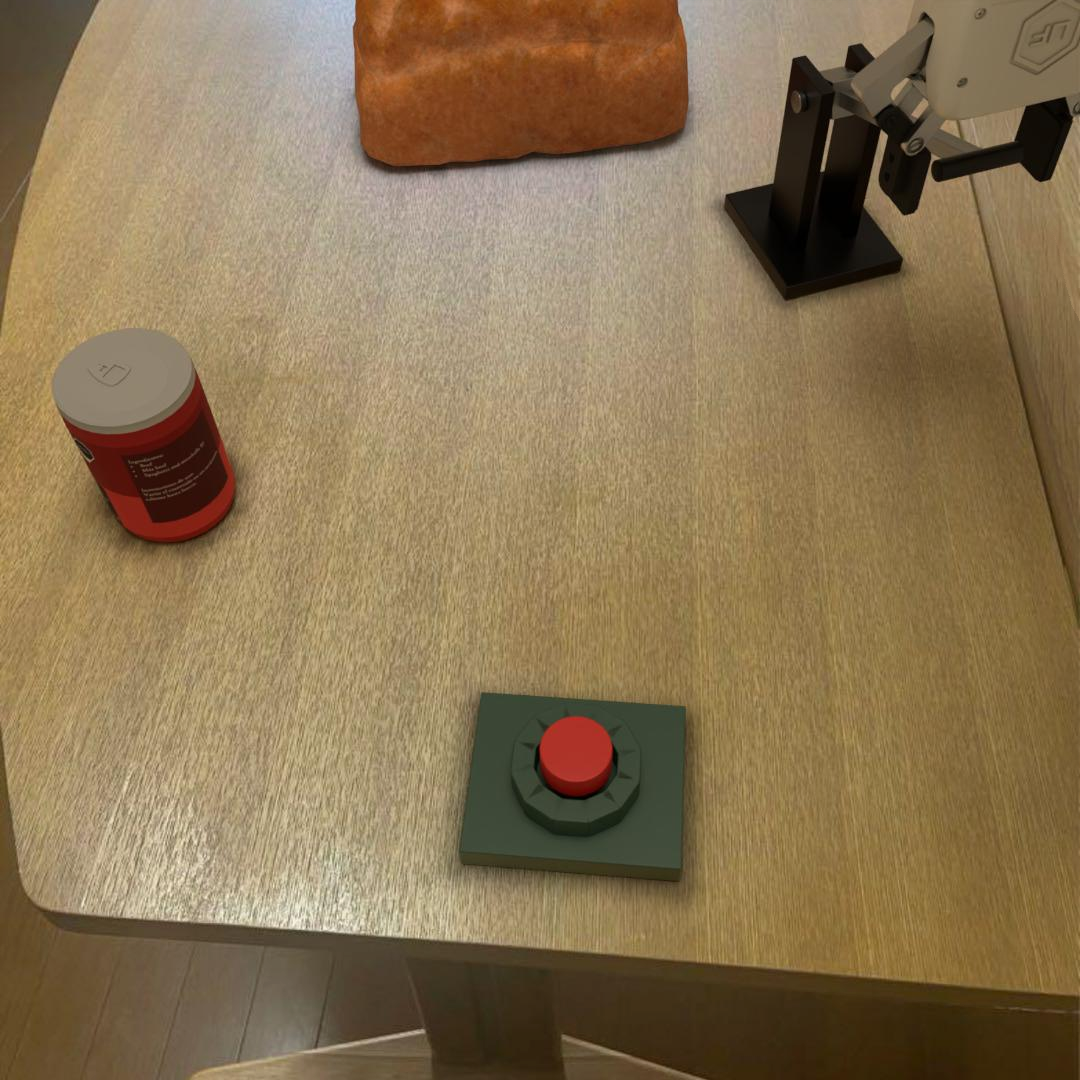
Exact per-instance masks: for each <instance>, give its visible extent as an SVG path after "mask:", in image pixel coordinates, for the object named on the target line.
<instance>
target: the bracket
mask: <svg viewBox="0 0 1080 1080" xmlns="http://www.w3.org/2000/svg"><path fill="white" fill-rule="evenodd" d="M874 59H876V57H874V55H873V54H872V53H871V51H869V50H868V49H867V48H866V47H865V45H864V44H863V43H861V42H860V43H856V44H851V45H848V47H847V51H846V55H845V61H844V62H845V63H844V66H843V67H845V68H848V69H850V70H852V71H854V72H856V73H859V72H860V71H861V70H862V69H863V68H865V67H866V66H867V65H868V64H870V63H871V62H872V61H873V60H874ZM787 85H788V86H787V92H786V99H785V105H784V111H783V118H782V122H781V123H782V124H781V129H780V130H781V131H780V138H779V143H778V150H777V156H776V162H775V163H776V164H775V169H774V176H773V182H772V183H768V184H763V185H760V186H755V187H750V188H746V189H743V190H738V191H733V192H730V193H726V194H725V196H724V203H723V204H724V205H723V207H724V209H725V211H726V212H727V214H728V215H729V216H730V218H731V220H732V221H733V223H734V224H735V226H736V227H737V229H738V230H739V232H740V234H741V235H742V236H743V238H744V239H745V241H746V243H747V245H748V246H749V247H750V249H751V250H752V251H753V253H754V255H755V256H756V257H757V260H758V261H759V263H760V264H761V266H762V267H763V268H764V270H765V271H766V273H767V274H768V276H769V278H770V279H771V280H772V282H773V283H774V285H775V287H776V288H777V290H778V292H779V293H780V294H781V296H782V297H783V299H784V300H785V301H787V300H792V299H796V298H799V297H803V296H807V295H811V294H815V293H819V292H824V291H827V290H831V289H835V288H839V287H843V286H848V285H850V284H856V283H859V282H862V281H866V280H870V279H875V278H878V277H883V276H887V275H891V274H894V273H898V272H900V271H901V269H902V266H903V263H904V257H903V256H902V255H901V253H900V252H899V251H898V249H897V248H896V247H895V246H894V244H893V243H892V241H890V239H889V238H888V236H886V234H885V233H884V231H883V230H882V229H881V228H880V226H879V225H878V224H877V222H876V221H875V220H874V219H873V217H872V215H871V214H870V213H869V211H867V209H866V208H865V201H866V197H867V193H868V188H869V184H870V180H871V175H872V171H873V166H874V162H875V158H876V153H877V150H878V145H879V141H880V136H881V132H882V130H881V129H880V127H878V126H876V125H874V124H872V123H870V122H868V121H866V120H865V119H863V118H861V117H859V116H857V115H852V116H847V117H843V118H838V119H834V120H833V124H832V129H831V134H830V139H829V144H828V150H827V154H826V155H827V156H826V160H825V165H824V170H823V171H822V166H823V161H824V155H825V149H826V144H827V140H828V133H829V128H830V123H831V113H832V108H833V103H834V98H835V90H834V89H833V88H832V87H831V85H830V84H829V83H828V82H827V80H826V79H825V78H824V77H823V76H822V74H821V73H820V72H819V69H818V68H817V67H816V66H815V64H813V62H812V61H811V59H810V58H809V57H808V56H807V55H800V56H796V57H795V56H794V57H793V58H792V59H791V66H790V72H789V78H788V84H787Z"/></svg>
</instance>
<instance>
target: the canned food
mask: <svg viewBox="0 0 1080 1080" xmlns="http://www.w3.org/2000/svg"><path fill="white" fill-rule="evenodd" d="M51 393H52V397H53V400H54V403H55V406H56V409H57V411H58V413H59V415H60V416H61V418H62V421H63V423H64V425H65V427H66V429H67V431H68V433H69V435H70V437H71V438H72V441H73V442H74V444H75V446H76V447H77V449H78V451H79V453H80V455H81V457H82V459H83V461H84V463H85V464H86V466H87V468H88V470H89V472H90V474H91V476H92V477H93V480H94V481H95V483H96V485H97V487H98V490H99V491H100V493H101V494H102V496H103V498H104V500H105V502H106V504H107V505H108V507H109V508H108V509H110V512H111V513H112V515H113V516H114V518H115V519H116V521H117V522H118V523H120V525H122V526H123V527H124V528H125V529H126V530H127V531H129V532H130V533H132V534H133V535H135V536H137V537H139V538H140V539H144V540H147V541H151V542H157V543H176V542H181V541H187V540H189V539H192V538H196V537H198V536H200V535H202V534H204V533H206V532H208V531H209V530H210V529H212V528H214V527H215V526H216V525H217V524H219V522H220V521H221V520H223V519H224V518H225V516H226V514H227V513H228V512H229V510H230V509H231V505H232V503H233V501H234V496H235V488H236V486H235V485H236V479H235V472H234V469H233V467H232V464H231V462H230V459H229V455H228V453H227V450H226V447H225V444H224V442H223V439H222V436H221V434H220V431H219V428H218V425H217V423H216V420H215V418H214V415H213V412H212V409H211V406H210V404H209V401H208V397H207V396H206V392H205V390H204V388H203V385H202V381H201V379H200V376H199V373H198V371H197V369H196V366H195V364H194V361H193V359H192V357H191V356H190V354H189V352H188V350H187V349H186V348H185V346H184V345H183V344H182V343H181V342H180V341H178V340H177V338H175V337H173V336H171V335H169V334H167V333H165V332H163V331H159V330H155V329H151V328H141V327H135V328H134V327H133V328H132V327H130V328H129V327H128V328H120V329H114V330H109V331H107V332H106V331H105V332H102V333H100V334H97V335H95V336H92V337H90V338H88V339H87V340H84V341H83V342H81V343H79V344H78V345H76V346H75V347H74V348H73V349H72V350H70V351H69V352H68V353H67V354H66V355H65V356H64V357H63V358H62V360H61V361H60V362H59V363H58V365H57V367H56V369H55V371H54V372H53V377H52V380H51Z"/></svg>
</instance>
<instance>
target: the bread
mask: <svg viewBox="0 0 1080 1080" xmlns="http://www.w3.org/2000/svg"><path fill="white" fill-rule="evenodd" d="M354 2H355V4H354V16H355V17H354V18H355V21H354V23H353V25H352V43H353V44H352V45H353V56H354V97H355V103H356V107H357V111H358V116H359V130H360V131H359V133H360V135H359V136H360V137H359V139H360V146H361V147H362V148H363V150H364V151H365V152H366V154H367V155H368V156H369V157H370V158H372V159H374V160H377V161H379V162H383V163H385V164H388V165H389V166H392V167H408V166H409V167H411V166H436V165H437V166H439V165H443V164H448V163H450V162H454V163H455V162H460V163H461V162H480V161H485V160H486V161H487V160H506V159H507V160H508V159H518V158H520V157H524V155H525V156H526V155H528V154H531V153H539V154H549V155H550V154H551V155H562V154H571V153H581V152H588V151H592V150H593V151H594V150H598V149H605V148H612V147H613V148H614V147H621V146H630V145H637V144H642V143H646V142H650V141H651V142H652V141H655V140H658V139H661V138H665V137H667V136H670V135H674V134H676V133H678V132H679V130H681V129H682V128H683V127H684V126H685V125H686V123H687V116H688V109H689V103H690V100H689V99H690V98H689V96H690V95H689V94H690V93H689V66H688V43H687V39H686V35H685V29H684V25H683V20H682V17H681V15H680V13H679V0H355V1H354Z"/></svg>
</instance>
